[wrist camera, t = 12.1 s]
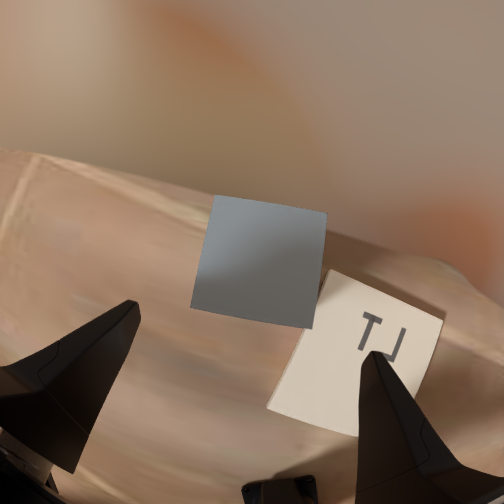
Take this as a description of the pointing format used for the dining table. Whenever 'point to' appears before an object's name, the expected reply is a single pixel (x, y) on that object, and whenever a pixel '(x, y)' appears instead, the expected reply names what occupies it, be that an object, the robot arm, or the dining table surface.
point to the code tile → (351, 352)
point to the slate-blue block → (261, 262)
